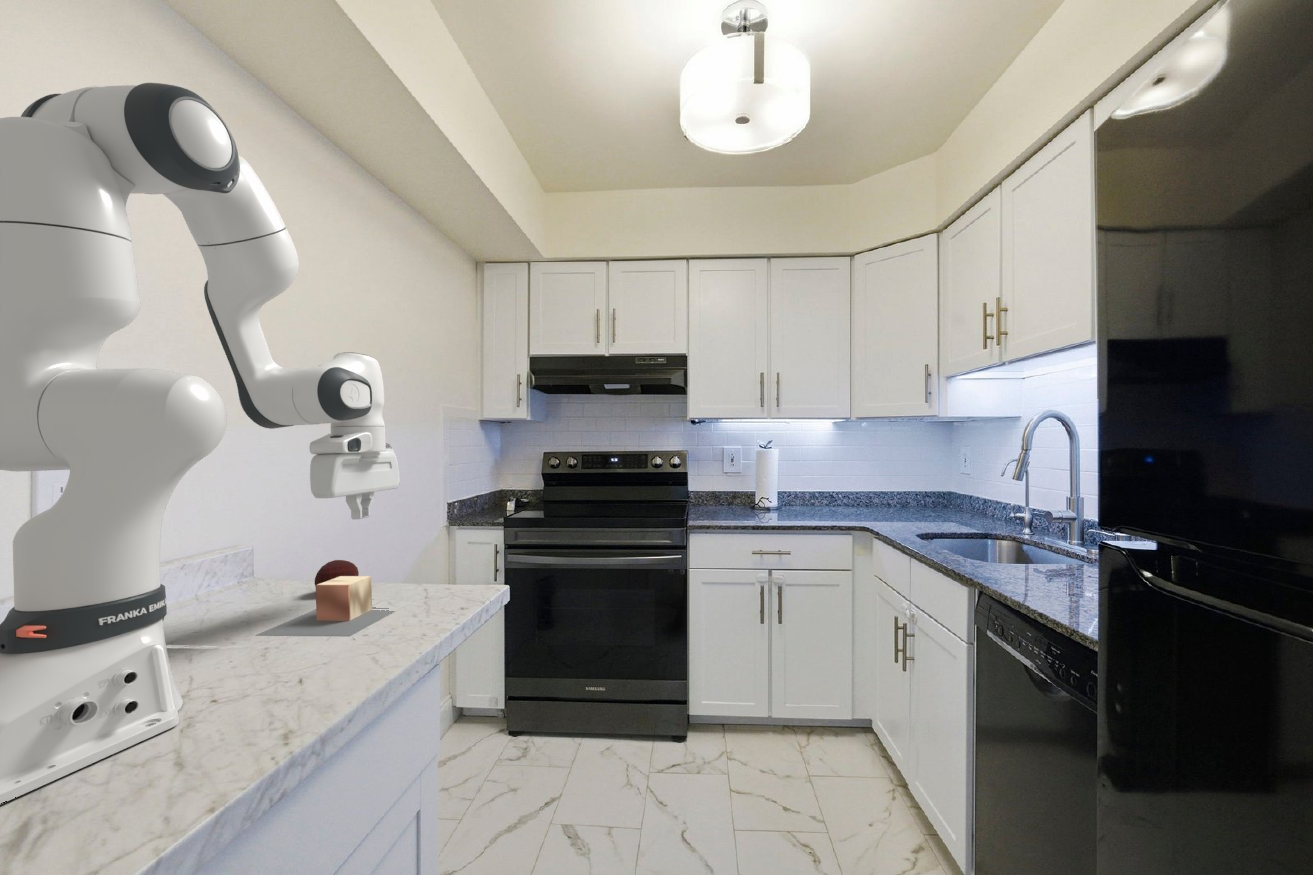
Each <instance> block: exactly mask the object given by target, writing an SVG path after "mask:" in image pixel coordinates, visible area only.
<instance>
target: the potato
mask: <svg viewBox="0 0 1313 875" xmlns="http://www.w3.org/2000/svg"><path fill="white" fill-rule="evenodd" d="M339 576H360V574H359V569H358V567H357V566H356V564H354V563H353V562H351V561H349V560H344V559H343V560H342V559H334V560H331V561H328V562H326V563H325V564H323V565H322V566H321V567H320V569H319V570H317V572H316V574H315V578H314V586H315V588H316V585H317V584H320V583H323V582H326V581H328V580H331V579H334V578H337V577H339Z"/></svg>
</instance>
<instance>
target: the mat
mask: <svg viewBox="0 0 1313 875" xmlns="http://www.w3.org/2000/svg"><path fill="white" fill-rule="evenodd" d="M372 609H389V608H376V607H372ZM394 613H395V611H389V610H386V611H385V610H381V611H380V610H370V611H368V612H366V613H364V614H362V615H360V616H358V617H356V618H354V619H352V620H350V621H317V618H316V608H315V609H313V610H311V611H308V612H306V613H304V614H302V615H298V616H297V617H295V618H292V619H290V620H287V621H284V622H283V623H280V624H279V625H276V626H273V627H272V628H269V629H267V630H265V631H261V632H259V633H257V634H255V637H257V636H260V637H261V636H262V637H263V636H264V637H265V636H267V637H269V636H271V637H272V636H273V637H275V636H276V637H278V636H279V637H281V636H282V637H284V636H286V637H351V636H353V635H355V634H356V633H358V632H360V631H362V630H364V629H366V628H367V627H370V626H372V625H373V624H375V623H377V622H379V621H381V620H382V619H385V618H386V617H389V616H390V615H392V614H394Z"/></svg>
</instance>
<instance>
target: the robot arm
mask: <svg viewBox="0 0 1313 875" xmlns="http://www.w3.org/2000/svg"><path fill="white" fill-rule="evenodd" d="M229 128H230V127H229V126H228V125H227V124H226V122H225V120H224V119H223V118H222V116H221V115H220V114H219V112H217V111H216V110H215V108H213V107H212V105H210V103H208V102H207V101H206V100H205V99H204V98H203V97H201V95H199V94H197V93H196V92H194V91H192V90H190V89H187V88H185V87H181V86H178V85H173V84H169V83H158V82H143V83H141V84H138V85H135V84H134V85H127V84H126V85H125V84H124V85H102V84H100V85H92V86H86V87H82V88H79V89H74V90H71V91H67V92H65V93H52V94H48V95H45V96H43V97H40V98H38V99H37V100H35V101H34V102H32V103H30V105H28V106H27V107H26V108H25V109H24V111H23V112H22V114H21V115H20V116H8V117H7V116H5V117H0V471H5V472H40V471H41V472H42V471H44V472H46V471H69V476H68V479H67V482H66V485H65V488H64V489H63V491H62V494H61V495H60V497H59V498H58V499H57V501H56V502H55V503H54V505H52V506H51V507H50V508H49V509H46V510H44V511H42V512H40V513H39V514H38V513H37V514H36V515H34V516H33V517H31V518H30V519H28V520H27V521H26V522H25V523H23V524H21V526H20V527H19V528H18V530H17V531H16V532H15V535H14V537H13V540H12V564H13V565H12V566H13V567H12V568H13V604H14V605H13V607H12V608H11V609H10V610H9V611H8V613H7V615H6V616H5V618H4V620H3V621H1V623H0V803H2V802H5V801H7V802H9V801H11V800H14V799H16V798H18V797H21V796H23V795H25V794H27V793H29V792H31V791H33V790H36V789H38V788H41V787H42V786H44V785H47V784H50V783H51V782H54V781H55V780H59V779H60V778H63V777H65V776H67V775H69V774H71V773H73V772H76V771H78V770H80V769H83V768H85V767H87V766H89V765H92V764H93V763H96V762H99V761H100V760H102V759H105V758H107V757H109V756H110V757H111V755H114V754H116V753H119V752H120V751H123V750H125V749H127V748H130V747H132V746H134V745H137V744H139V743H140V742H142V741H145V740H148V739H149V738H152V737H154V736H156V735H159V734H161V733H163V732H165V731H168V730H169V729H172V728H174V727H176V726H177V725H178V724H179V723H180V717H179V710H180V709H181V707H182V706H183V704H184V699H183V698H182V695H181V693H180V691H179V689H178V686H177V684H176V681H175V678H174V675H173V671H172V668H171V664H170V660H169V655H168V654H169V653H168V649H167V644H166V638H165V630H164V619H165V617H166V616H167V614H168V612H167V610H168V609H167V603H168V602H167V596H166V586H165V585H164V584H163V583H161V542H162V541H161V538H162V525H163V520H164V515H165V511H166V509H167V505H168V504H169V500H170V499H171V496H172V495H173V492H174V490H176V487H177V486H178V484H179V483H180V482H181V480H182V479H183V477H184V476H185V475H186V474H187V473H188V472H189V471H190V469H192V467H194V466H195V465H196V464H198V462H200V461H201V460H203V459H204V458H206V457H207V456H209V455H210V454H211V453H212V452H213V451H214V450H215V449H216V448H217V447H218V446H219V445H220V443H221V441H222V440H223V438H224V436H225V433H226V430H227V425H228V415H227V409H226V406H225V403H224V400H223V399H222V397H221V396H220V394H219V392H218V390H216V389H215V387H214V386H213V385H211V384H210V383H209V382H208V381H206V380H205V379H204V378H202V377H200V376H196V375H193V374H192V375H191V374H187V373H181V372H176V371H169V370H162V369H155V368H147V367H143V368H142V367H141V368H140V367H139V368H97V364H98V357H99V354H100V351H101V349H102V346H103V345H104V344H105V342H106V341H107V340H108V338H109V337H110V336H111V335H113V334H114V333H116V332H119V331H120V330H122V329H124V328H126V327H128V326H129V325H131V324H132V323H133V322H134V321H135V320H136V318H137V317H138V314H139V312H140V309H141V298H140V293H139V291H140V290H139V285H138V284H139V283H138V278H137V277H138V276H137V269H136V262H135V255H134V246H133V239H132V234H131V228H130V222H129V218H128V214H127V209H126V208H127V202H128V198H129V196H130V195H131V194H132V195H133V194H144V195H162V196H164V197H166V198H167V199H168V200H170V202H172V204H174V205H175V207H177V208H178V210H179V211H180V212H181V214H182V217H183V219H184V221H185V223H186V225H187V228H188V230H189V231H190V234H191V236H192V237H193V240H194V242H195V243H196V245H197V248H198V249H199V251H200V254H201V256H202V258H203V261H204V264H205V267H206V268H205V269H206V272H207V280H206V281H205V283H204V286H203V293H204V300H205V303H206V306H207V310H208V313H209V316H210V318H211V322H212V324H213V326H214V328H215V332H216V334H217V336H218V339H219V341H220V344H221V346H222V349H223V351H224V353H225V355H226V358H227V361H228V364H229V366H230V368H231V371H232V374H233V377H234V380H235V384H236V386H237V393H238V400H239V403H240V407H241V409H242V410H243V412H244V413H245V415H246V416H247V417H248V419H250V420H251V422H253V423H255V424H257V425H258V426H259V427H262V428H263V429H271V430H272V429H280V428H286V427H287V428H288V427H293V426H306V425H307V426H309V425H311V426H312V425H321V424H323V425H324V424H325V425H326V424H330V433H328V434H326V435H324V436H321V437H320V438H318V439H314V440H313V441H311V442H310V443H309V453H310V454H311V455H314V456H312V458H311V460H310V465H309V478H310V479H309V480H310V481H309V482H310V484H309V485H310V491H311V494H312V496H313V497H314V498H315V499H336V498H341V497H345V502H346V504H347V506H348V508H349V510H350V518H351V519H352V520H362V519H365V518H366V519H367V518H370V517H371V507H372V506H373V502H374V500H375V493H376V492H382V491H383V492H385V491H389V490H396V489H397V490H398V488H399V485H400V483H401V477H400V468H399V462H398V457H397V455H396V453H395V450H394V448H393V447H392V446H391V444H390V443H388V442H387V440H386V439H387V438H386V437H387V436H386V423H385V420H384V417H383V414H384V413H383V412H384V411H383V410H384V407H385V387H384V378H383V372H382V369H381V366H380V363H379V361H378V360H377V359H376V358H374V357H372V356H370V355H368V354H364V353H358V352H351V351H350V352H349V351H347V352H339V353H336V354H335V355H334V356H333V358H332V360H329V361H328V362H326V363H323V364H320V365H318V366H306V367H299V368H298V367H296V368H295V367H293V368H292V367H291V368H286V367H283V366H280V365H279V364H278V363H276V362H275V361H274V359H273V356H272V354H271V351H270V349H269V345H268V342H267V340H266V336H265V334H264V331H263V329H262V325H261V322H260V311H261V309H262V307H263V306H264V305H266V303H267V302H269V301H272V300H273V299H275V298H276V297H278V296H279V295H281V294H282V293H284V292H286V291H287V289H288V288H290V287H291V286H292V284H293V283H294V282H295V280H296V278H297V276H298V272H299V269H300V261H299V256H298V255H299V254H298V251H297V249H296V246H295V243H294V241H293V239H292V236H291V235H290V233H289V232H290V231H289V230H288V228H287V226H286V224H285V222H284V220H283V218H282V216H281V213H280V212H279V210H278V208H277V206H276V204H275V202H274V200H273V198H272V197H271V195H270V193H269V192H268V190H267V189H266V186H265V185H264V184H263V182H262V180H261V179H260V178H259V176H258V175H257V173H256V172H255V170H254V168H253V167H252V166H251V164H250V163H249V162H248V161H247V160H246V159H245V158H244V157H243V156H242V155H240V154H238V153H239V152H238V148H237V144H236V141H235V139H234V136H233V134H232V132H231V130H230V129H229ZM15 797H16V798H15ZM5 803H6V802H5ZM2 804H3V803H2Z"/></svg>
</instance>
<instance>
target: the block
mask: <svg viewBox="0 0 1313 875" xmlns="http://www.w3.org/2000/svg"><path fill="white" fill-rule="evenodd" d="M372 600H373V593H372V576H371V575H369V576H368V575H364V576H363V575H359V576H339V577H337V578H334V579H331V580H328V581H326V582H323V583H320V584H317V585H316V587H315V609H316V618H317V621H350V620H352V619H354V618H356V617H358V616H360V615H362V614H364V613H366V612H368V611H370V610H372Z"/></svg>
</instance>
